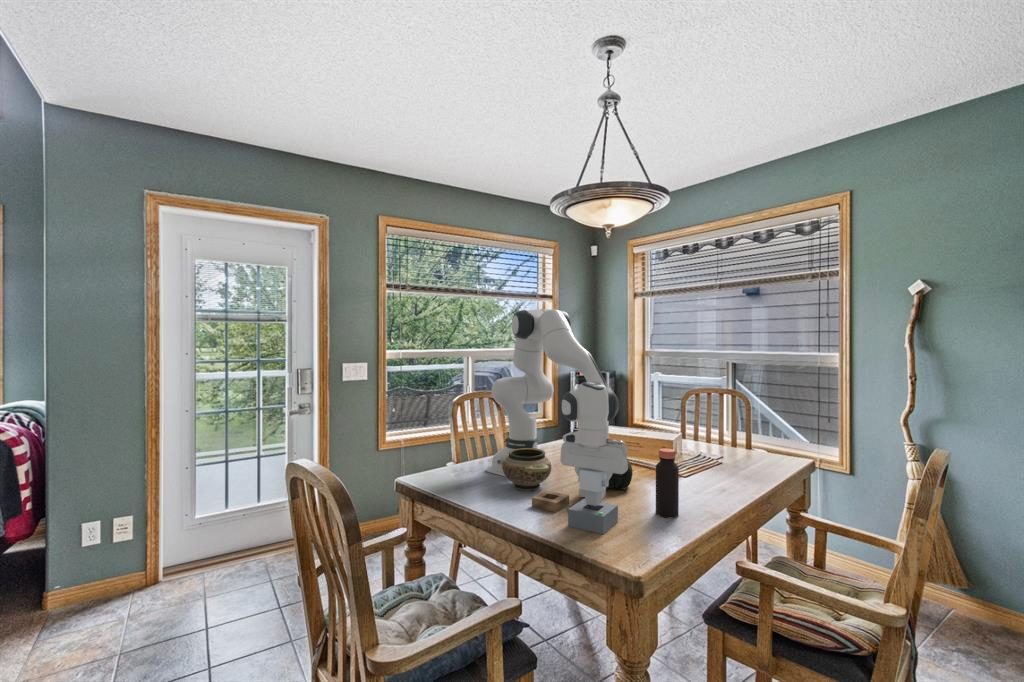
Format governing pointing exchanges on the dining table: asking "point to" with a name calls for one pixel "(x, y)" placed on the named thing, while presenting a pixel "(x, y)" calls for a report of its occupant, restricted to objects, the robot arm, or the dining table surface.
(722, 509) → the dining table surface
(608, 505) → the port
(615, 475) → the squash
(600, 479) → the plug
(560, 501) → the cradle
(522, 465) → the ceramic bowl
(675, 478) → the bottle
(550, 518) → the dining table surface
